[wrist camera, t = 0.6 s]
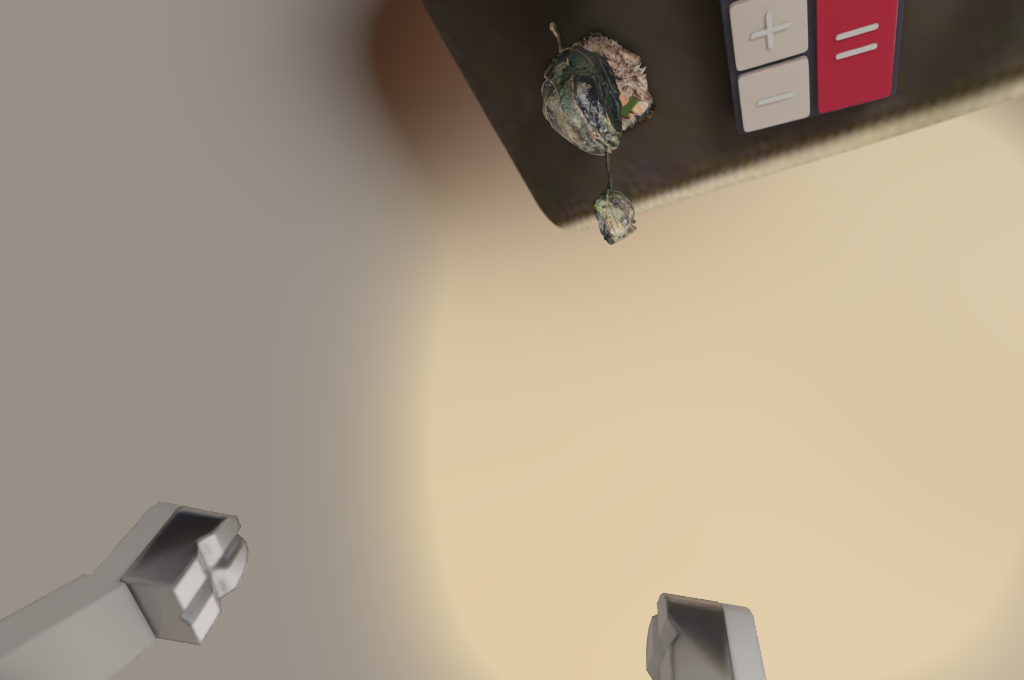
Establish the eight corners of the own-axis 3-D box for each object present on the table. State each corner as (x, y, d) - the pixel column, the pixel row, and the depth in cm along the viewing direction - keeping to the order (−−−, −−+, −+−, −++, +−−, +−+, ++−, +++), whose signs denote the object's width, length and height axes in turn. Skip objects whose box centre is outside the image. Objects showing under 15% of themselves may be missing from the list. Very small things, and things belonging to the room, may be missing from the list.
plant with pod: (624, -18, 42) (605, 116, 29) (661, 119, 49) (659, 275, 36) (525, 24, 45) (468, 161, 32) (573, 147, 53) (543, 298, 40)
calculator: (738, 142, 46) (711, -64, 35) (733, 113, 48) (707, -87, 38) (899, 102, 41) (922, -146, 31) (885, 72, 44) (902, -165, 34)
